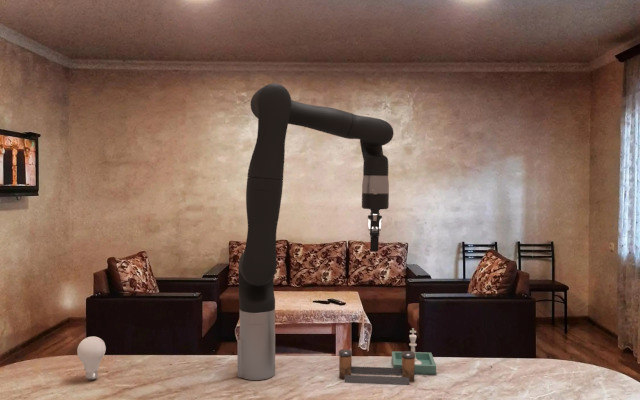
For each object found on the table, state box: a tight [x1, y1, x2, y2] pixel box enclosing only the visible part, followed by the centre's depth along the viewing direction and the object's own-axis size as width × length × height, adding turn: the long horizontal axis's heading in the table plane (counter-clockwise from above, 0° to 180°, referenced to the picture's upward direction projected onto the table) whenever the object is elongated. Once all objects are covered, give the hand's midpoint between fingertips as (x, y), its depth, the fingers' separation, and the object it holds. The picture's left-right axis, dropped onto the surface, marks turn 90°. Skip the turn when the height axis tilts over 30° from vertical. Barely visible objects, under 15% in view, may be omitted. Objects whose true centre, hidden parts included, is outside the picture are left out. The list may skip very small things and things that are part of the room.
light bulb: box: [76, 335, 107, 381], centre depth 132 cm, size 7×7×11 cm
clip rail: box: [338, 348, 416, 386], centre depth 133 cm, size 19×7×7 cm, turn 85°
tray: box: [391, 351, 437, 376], centre depth 142 cm, size 11×11×2 cm
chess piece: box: [408, 327, 422, 365], centre depth 142 cm, size 5×5×10 cm
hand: (374, 249), depth 147 cm, fingers open, 8 cm apart
